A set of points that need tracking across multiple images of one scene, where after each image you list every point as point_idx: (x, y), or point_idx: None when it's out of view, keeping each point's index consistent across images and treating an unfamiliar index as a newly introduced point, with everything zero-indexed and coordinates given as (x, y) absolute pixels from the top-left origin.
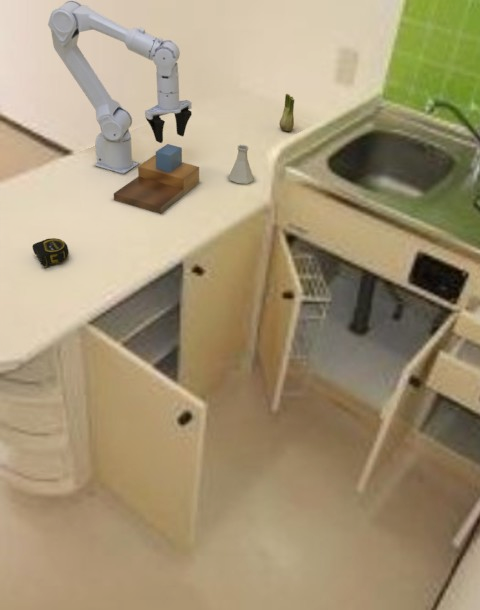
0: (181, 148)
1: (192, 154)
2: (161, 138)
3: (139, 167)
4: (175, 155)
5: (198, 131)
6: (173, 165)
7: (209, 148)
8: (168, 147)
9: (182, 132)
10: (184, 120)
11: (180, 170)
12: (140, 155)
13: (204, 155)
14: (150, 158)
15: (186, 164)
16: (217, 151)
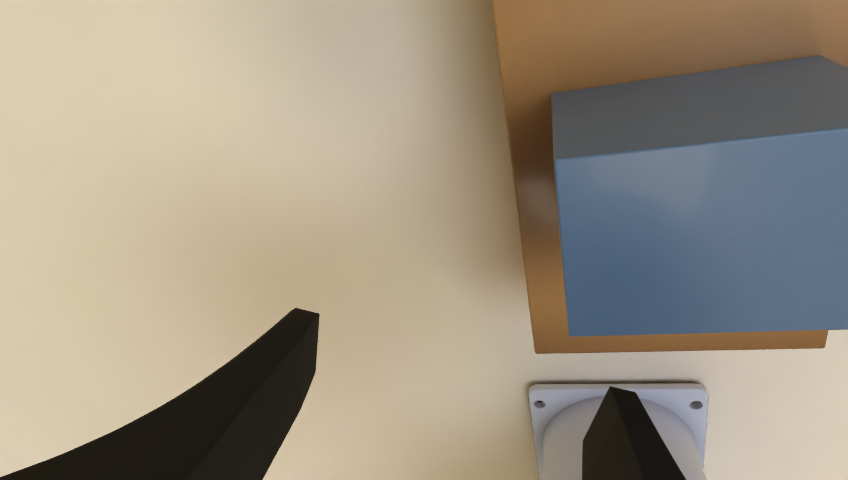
0: (563, 154)
1: (194, 237)
2: (647, 431)
3: (826, 331)
4: (739, 120)
5: (5, 353)
6: (761, 80)
7: (58, 209)
8: (665, 281)
9: (298, 342)
10: (199, 464)
11: (698, 7)
12: (430, 421)
13: (140, 177)
14: (620, 347)
15: (523, 55)
16: (35, 149)
